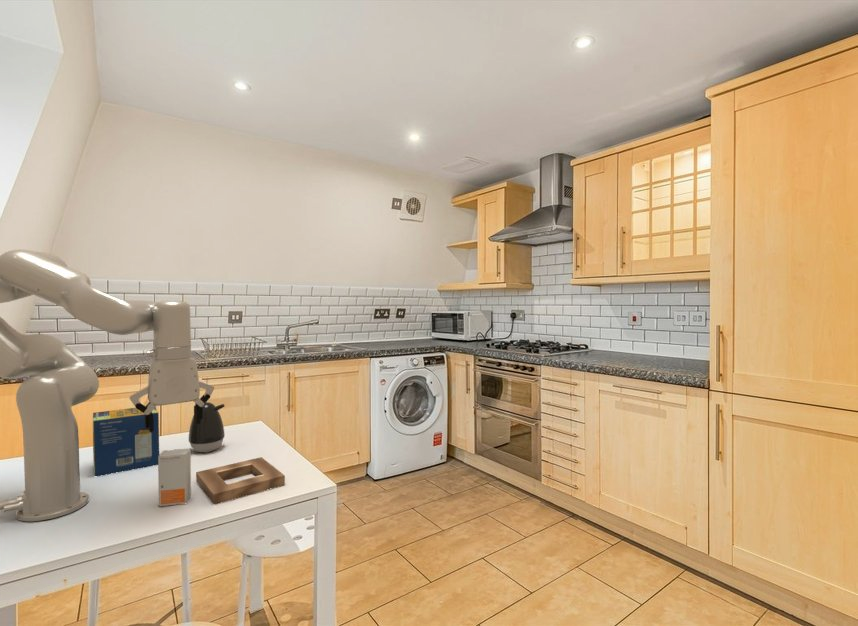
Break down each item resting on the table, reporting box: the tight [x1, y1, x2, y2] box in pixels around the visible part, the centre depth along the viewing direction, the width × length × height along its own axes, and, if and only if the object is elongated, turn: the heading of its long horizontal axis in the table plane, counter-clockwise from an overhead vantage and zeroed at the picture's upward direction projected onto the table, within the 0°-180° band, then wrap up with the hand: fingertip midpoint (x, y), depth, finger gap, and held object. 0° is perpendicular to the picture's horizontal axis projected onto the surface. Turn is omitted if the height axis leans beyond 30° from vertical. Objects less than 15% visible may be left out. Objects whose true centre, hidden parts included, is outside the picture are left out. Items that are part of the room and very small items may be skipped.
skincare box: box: [157, 447, 192, 507], centre depth 104 cm, size 6×4×12 cm
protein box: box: [92, 406, 160, 477], centre depth 127 cm, size 10×15×16 cm
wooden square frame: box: [195, 456, 286, 505], centre depth 115 cm, size 17×17×3 cm
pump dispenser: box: [188, 401, 225, 453], centre depth 140 cm, size 10×10×15 cm
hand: (174, 426), depth 104 cm, fingers open, 9 cm apart
